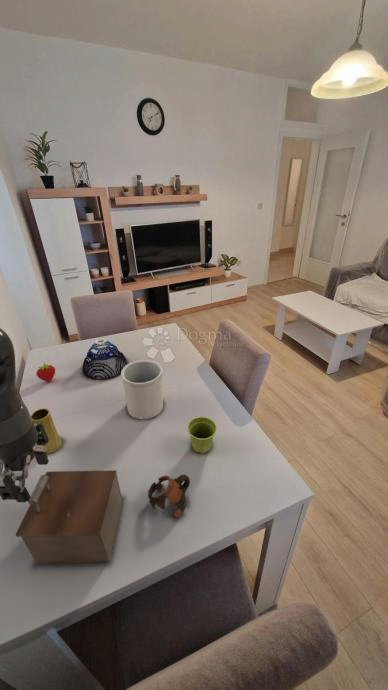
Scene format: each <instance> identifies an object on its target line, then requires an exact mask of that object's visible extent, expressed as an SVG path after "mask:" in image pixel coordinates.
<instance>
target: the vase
mask: <svg viewBox="0 0 388 690" xmlns="http://www.w3.org/2000/svg"><path fill="white" fill-rule="evenodd" d="M30 415H31V418H32V420H33V423H34V424H42V425H43V427H44V429H45V432H46V434H47V436H48V438H49V441H48V443H46V444H45V446H46V450H45V451H46V454H51V453H54V452H56V451H58V450H59V449H60V448H61V446H62V443H63V441H62V439H61V438H60V435H59V432H58V431H57V428H56V426H55V424H54V421H53V417H52V415H51V412H50V410H49V409H48V408H45V407H43V408H39V409H36V410H35V411H34V412H32V413H31V414H30ZM40 438H41V437H40Z"/></svg>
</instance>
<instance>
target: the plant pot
mask: <svg viewBox="0 0 388 690" xmlns="http://www.w3.org/2000/svg"><path fill="white" fill-rule="evenodd" d="M186 430H187V433H188V435H189V436H190V441H191V446H192V449H193V451H195V452H196V453H200V454H205V453H207V452H209V451H210V449H211V447H212V443H213V439H214V436H215V435H216V433H217V430H218V426H217V424H216V421H214V420H213V419H211V418H210V417H207V416H197V417H194V418H192V419H191V420H190V421H189V422H188V424H187V428H186Z"/></svg>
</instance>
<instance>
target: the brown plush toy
mask: <svg viewBox="0 0 388 690" xmlns="http://www.w3.org/2000/svg"><path fill="white" fill-rule="evenodd" d="M157 481H158V482H157V483H156V482H155V481H154V482H152V484H151V485H150V486H149V489H148V491H147V497H148V499H149V504H150V506H151V507H152V509H153V510H156V506H157V507H158V508H160V509H161V510H165V509H166V501H167V500H168V501H167V502H169V504H170V505H171V506H174V505H175V506H176V507H177V508H176V509H175V510H174V511H173V512H172V515H173V516H174V517H175V518H176V519H178V518H179V517H180V516H181V515H182V514H183V513H184V511H185V509H186V507H187V498H186V492H187V490H188V489H189V487H190V484H191V479H190V477H189V476H188V475H187V474H181V475H179V476H178V477H176V478H173V477H171V476H169V475H162V476H160V477H158V480H157ZM165 481H168V484H167V487H166V489H164V491H163V492H162V493H161V494H160V495H157V496H153V495H154V493H155V492H156V491H162V489H163V487H164V485H163V484H162V483H164V482H165Z"/></svg>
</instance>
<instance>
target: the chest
mask: <svg viewBox="0 0 388 690" xmlns="http://www.w3.org/2000/svg"><path fill="white" fill-rule="evenodd" d="M122 503H123V496H122V492H121V487H120V483H119V477H118V474H117V472H116V476H115V480H114V484H113V488H112V492H111V496H110V500H109V504H108V508H107V512H106V516H105V520H104V524H103V528H102V532H101V535H76V536H27V537H21V539H22V540H23V543H24V544H25V546H26V548H27V549H28V551H29V552H30V554H31V556H32V558H33V559H34V561H35V562H36V564H60V563H61V564H63V563H67V564H68V563H108V562H110V561H111V557H112V552H113V547H114V542H115V538H116V532H117V527H118V523H119V518H120V513H121V508H122V505H123V504H122Z"/></svg>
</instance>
